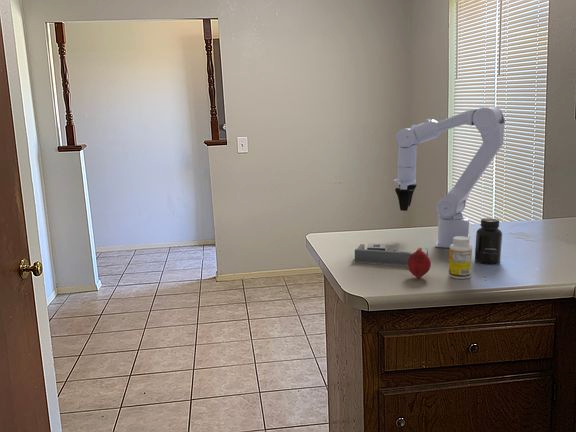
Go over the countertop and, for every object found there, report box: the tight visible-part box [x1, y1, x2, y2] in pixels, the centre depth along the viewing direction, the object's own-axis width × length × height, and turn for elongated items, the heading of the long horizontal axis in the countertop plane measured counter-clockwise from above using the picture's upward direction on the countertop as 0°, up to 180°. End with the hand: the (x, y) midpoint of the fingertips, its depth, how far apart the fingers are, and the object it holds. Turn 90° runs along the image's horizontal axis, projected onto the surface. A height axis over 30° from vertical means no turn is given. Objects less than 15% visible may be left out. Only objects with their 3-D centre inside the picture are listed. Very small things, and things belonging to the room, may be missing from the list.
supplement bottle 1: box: [448, 236, 473, 280], centre depth 144 cm, size 6×6×10 cm
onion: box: [407, 247, 432, 279], centre depth 144 cm, size 6×6×8 cm
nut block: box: [366, 242, 387, 251], centre depth 162 cm, size 5×5×4 cm
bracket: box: [353, 243, 429, 267], centre depth 160 cm, size 20×10×4 cm, turn 72°
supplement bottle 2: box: [474, 217, 503, 265], centre depth 157 cm, size 7×7×12 cm
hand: (405, 208), depth 182 cm, fingers open, 7 cm apart
